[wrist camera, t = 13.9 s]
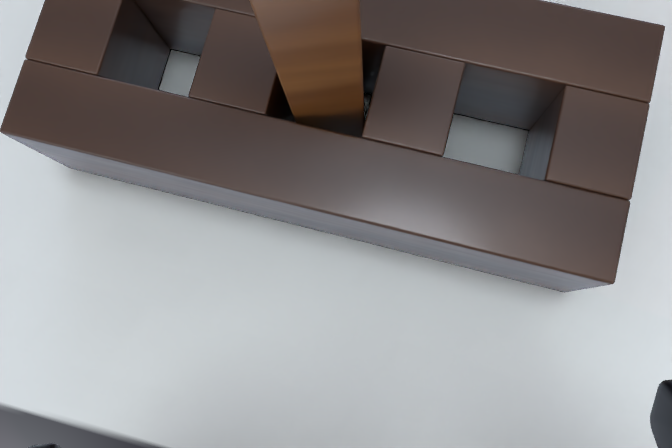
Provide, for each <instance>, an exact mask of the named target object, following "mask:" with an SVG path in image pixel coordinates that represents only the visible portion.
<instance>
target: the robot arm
mask: <svg viewBox="0 0 672 448" xmlns="http://www.w3.org/2000/svg"><path fill="white" fill-rule="evenodd" d="M650 423H651V428H652V432H653V435H654V438H655V441H656V443H657V446H658V448H672V380H665V381H663V382H661V383H660V384H659V387H658V390H657V393H656V397H655V400H654V404H653V407H652V411H651V415H650ZM28 448H61V447H60V446H59V445H57V444H55V443H49V444H39V445H33V446H30V447H28Z"/></svg>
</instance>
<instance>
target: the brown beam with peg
mask: <svg viewBox="0 0 672 448" xmlns="http://www.w3.org/2000/svg"><path fill="white" fill-rule="evenodd" d="M249 1H250V3H251V6H252V9H253V11H254V14H255V17H256V19H257V22H258V24H259V27H260V30H261V32H262V35H263V38H264V40H265V43H266V45H267V48H268V51H269V53H270V56H271V59H272V61H273V64H274V66H275V69H276V72H277V74H278V77H279V80H280V82H281V85H282V87H283V90H284V93H285V95H286V98H287V101H288V103H289V106H290V108H291V111H292V114H293V116H294V119H295V122H296V123H300V124H305V125H309V126H313V127H318V128H322V129H326V130H330V131H335V132H339V133H343V134H347V135H352V136H356V137H360V138H362V132H363V128H364V125H365V117H364V92H363V67H362V42H361V17H360V0H249Z"/></svg>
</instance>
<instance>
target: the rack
mask: <svg viewBox="0 0 672 448" xmlns="http://www.w3.org/2000/svg"><path fill="white" fill-rule="evenodd" d="M360 17H361V42H362V67H363V92H364V93H368V94H372V98H371V102H370V106H369V109H368V113H367V117H366V121H365V125H364V128H363V132H362V138H360V137H356V136H352V135H347V134H343V133H339V132H335V131H330V130H326V129H322V128H318V127H313V126H309V125H305V124H300V123H296V122H295V119H294V116H293V114H292V111H291V108H290V106H289V103H288V101H287V98H286V95H285V93H284V90H283V87H282V85H281V82H280V80H279V77H278V74H277V72H276V69H275V66H274V64H273V61H272V59H271V56H270V53H269V51H268V48H267V45H266V43H265V40H264V38H263V35H262V32H261V30H260V27H259V24H258V22H257V19H256V17H255V14H254V11H253V9H252V6H251V3H250V1H249V0H45V2H44V5H43V7H42V10H41V13H40V16H39V19H38V22H37V25H36V27H35V30H34V33H33V36H32V39H31V42H30V45H29V47H28V50H27V53H26V59H28V60H25V61H24V63H23V66H22V68H21V71H20V74H19V77H18V80H17V83H16V85H15V88H14V91H13V94H12V97H11V100H10V103H9V105H8V108H7V111H6V114H5V117H4V120H3V123H2V125H1V128H0V132H1V133H3V134H5V135H6V136H8V137H10V138H12V139H14V140H16V141H18V142H20V143H22V144H24V145H26V146H28V147H30V148H32V149H34V150H36V151H38V152H39V153H41V154H43V155H45V156H47V157H49V158H51V159H53V160H55V161H57V162H59V163H61V164H63V165H65V166H67V167H69V168H72V169H76V170H80V171H84V172H88V173H92V174H96V175H100V176H104V177H108V178H112V179H116V180H120V181H124V182H128V183H132V184H136V185H140V186H144V187H148V188H152V189H156V190H160V191H164V192H168V193H172V194H176V195H180V196H184V197H188V198H192V199H196V200H200V201H203V202H207V203H211V204H215V205H219V206H223V207H227V208H231V209H235V210H239V211H243V212H247V213H251V214H255V215H259V216H263V217H267V218H271V219H275V220H279V221H283V222H287V223H291V224H295V225H299V226H303V227H307V228H311V229H315V230H319V231H323V232H327V233H331V234H335V235H339V236H343V237H347V238H351V239H355V240H359V241H363V242H367V243H371V244H375V245H379V246H383V247H387V248H391V249H395V250H399V251H402V252H406V253H410V254H414V255H418V256H422V257H426V258H430V259H434V260H438V261H442V262H446V263H450V264H454V265H458V266H462V267H466V268H470V269H474V270H478V271H482V272H486V273H490V274H494V275H498V276H502V277H506V278H510V279H514V280H518V281H522V282H526V283H530V284H534V285H538V286H542V287H546V288H550V289H554V290H558V291H562V292H569V291H575V290H581V289H587V288H593V287H599V286H604V285H610V284H614V282H615V278H616V273H617V268H618V263H619V257H620V252H621V247H622V242H623V237H624V232H625V227H626V222H627V217H628V212H629V207H630V201H629V200H630V199H631V197H632V192H633V187H634V182H635V177H636V172H637V167H638V161H639V156H640V151H641V146H642V141H643V136H644V131H645V126H646V121H647V116H648V111H649V104H648V103H650V101H651V96H652V91H653V86H654V80H655V75H656V70H657V65H658V60H659V55H660V50H661V45H662V40H663V35H664V29H665V26H663V25H659V24H654V23H649V22H644V21H639V20H634V19H630V18H625V17H620V16H615V15H610V14H605V13H600V12H596V11H591V10H586V9H581V8H576V7H571V6H567V5H562V4H557V3H552V2H547V1H542V0H360ZM170 49H175V50H179V51H183V52H188V53H192V54H197V55H201V57H200V60H199V64H198V67H197V70H196V73H195V77H194V80H193V83H192V86H191V89H190V93H189V97H185V96H181V95H177V94H173V93H168V92H164V91H160V90H158V87H159V84H160V81H161V78H162V74H163V71H164V68H165V65H166V62H167V59H168V55H169V52H170ZM454 113H456V114H461V115H465V116H470V117H474V118H478V119H483V120H487V121H492V122H496V123H500V124H505V125H509V126H514V127H518V128H522V129H527V130H530V131H529V133H528V137H527V141H526V146H525V150H524V155H523V159H522V164H521V168H520V173H519V175H518V174H514V173H509V172H505V171H501V170H497V169H492V168H488V167H484V166H480V165H475V164H471V163H467V162H463V161H458V160H454V159H450V158H445V157H443V155H444V151H445V147H446V142H447V138H448V134H449V130H450V126H451V122H452V118H453V114H454Z"/></svg>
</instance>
